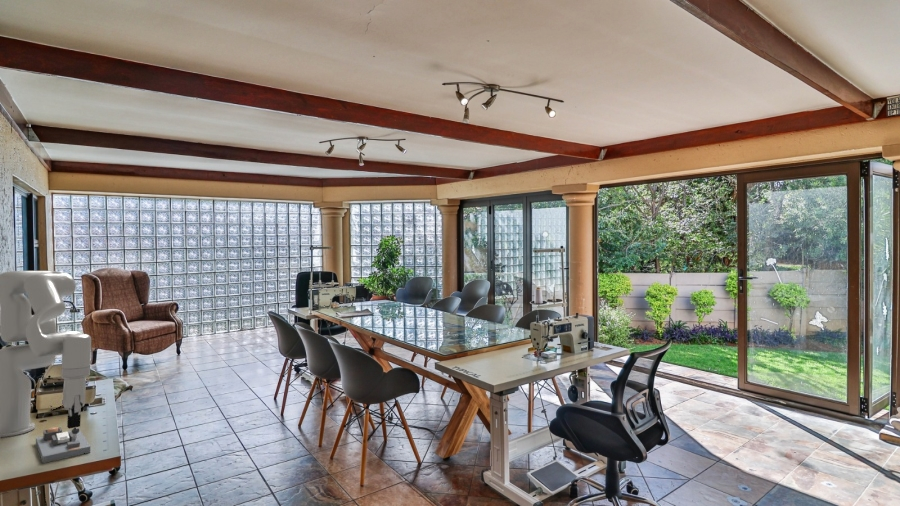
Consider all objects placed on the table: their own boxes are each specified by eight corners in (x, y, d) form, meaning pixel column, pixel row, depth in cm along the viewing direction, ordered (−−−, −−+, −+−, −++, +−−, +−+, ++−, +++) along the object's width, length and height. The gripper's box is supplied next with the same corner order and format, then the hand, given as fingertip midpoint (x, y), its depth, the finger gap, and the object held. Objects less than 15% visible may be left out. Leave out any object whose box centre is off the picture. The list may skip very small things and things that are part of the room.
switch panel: (35, 443, 163) (36, 430, 163) (79, 434, 171) (79, 422, 172) (42, 463, 148) (43, 448, 148) (90, 452, 156) (90, 438, 156)
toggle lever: (69, 438, 156) (71, 427, 153) (77, 436, 157) (79, 425, 155) (70, 443, 155) (72, 432, 152) (77, 441, 156) (80, 430, 154)
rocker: (56, 436, 160) (56, 433, 160) (67, 434, 162) (67, 431, 162) (57, 443, 157) (58, 440, 157) (69, 441, 159) (69, 437, 159)
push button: (46, 437, 163) (46, 428, 163) (57, 435, 165) (57, 426, 165) (47, 439, 161) (47, 430, 161) (58, 437, 163) (58, 428, 163)
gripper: (58, 369, 158) (56, 423, 158) (64, 378, 148) (62, 436, 148) (86, 366, 164) (84, 418, 164) (94, 374, 153) (91, 430, 153)
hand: (73, 426), depth 156 cm, fingers closed
